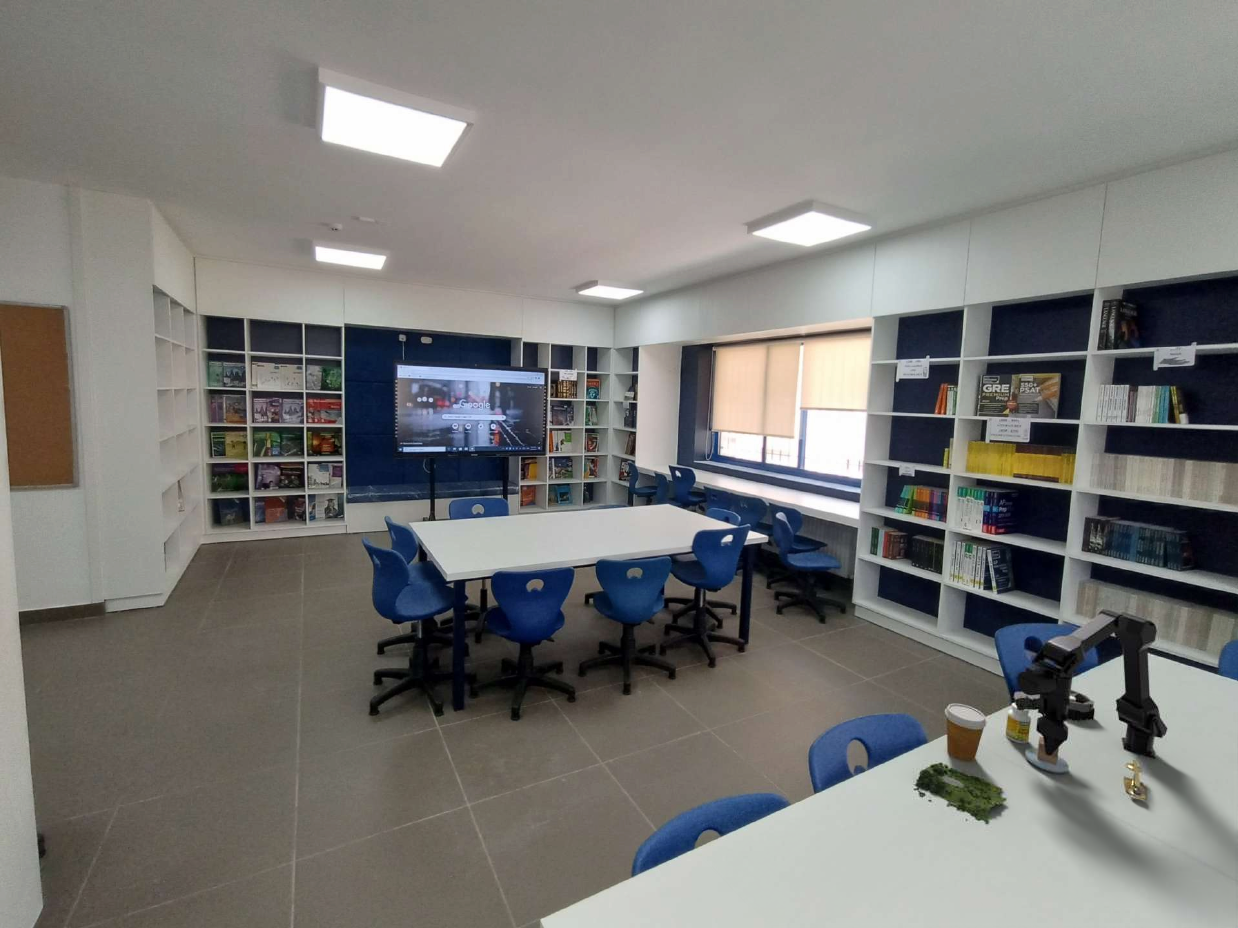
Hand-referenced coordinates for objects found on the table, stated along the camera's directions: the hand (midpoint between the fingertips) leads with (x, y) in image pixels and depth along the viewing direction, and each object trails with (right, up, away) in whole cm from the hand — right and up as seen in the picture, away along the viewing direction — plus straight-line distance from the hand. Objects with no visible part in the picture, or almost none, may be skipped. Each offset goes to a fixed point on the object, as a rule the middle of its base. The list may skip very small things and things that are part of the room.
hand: (1048, 746), depth 148 cm
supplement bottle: (0, -4, +11) cm, 12 cm away
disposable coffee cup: (-21, -4, +3) cm, 22 cm away
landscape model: (-31, -6, -13) cm, 34 cm away
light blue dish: (-1, -5, 0) cm, 5 cm away
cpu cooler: (+27, -3, +27) cm, 39 cm away
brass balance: (+15, -6, -8) cm, 18 cm away
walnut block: (0, -3, 0) cm, 3 cm away
